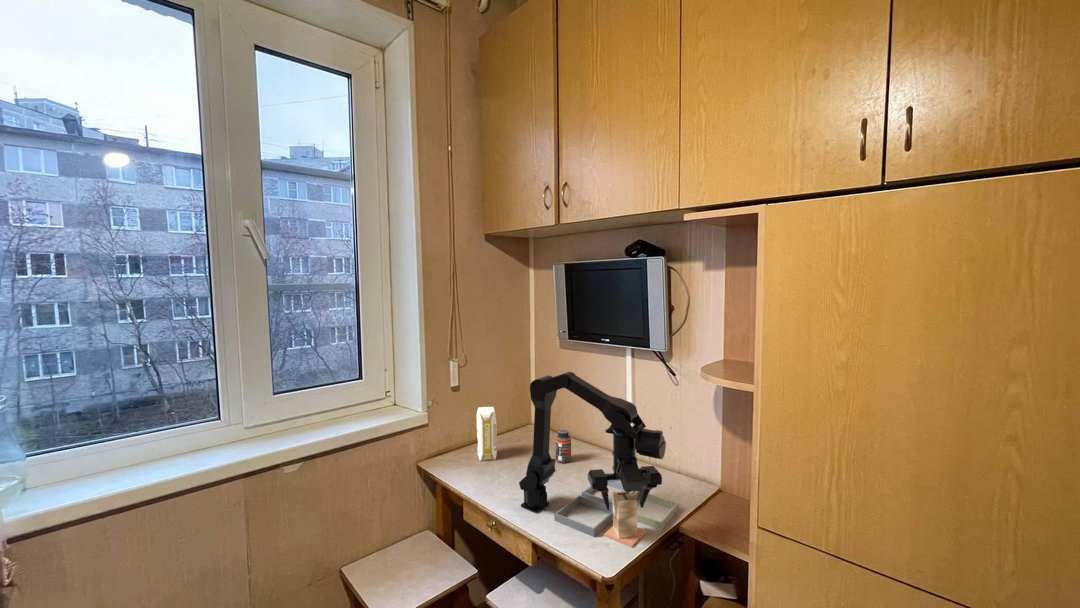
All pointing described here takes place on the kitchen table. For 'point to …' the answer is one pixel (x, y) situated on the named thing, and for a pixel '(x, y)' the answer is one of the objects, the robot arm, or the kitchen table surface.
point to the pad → (626, 541)
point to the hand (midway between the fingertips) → (624, 508)
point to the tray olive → (660, 501)
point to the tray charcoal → (579, 526)
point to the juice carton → (486, 433)
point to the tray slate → (587, 494)
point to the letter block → (624, 514)
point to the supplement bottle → (563, 447)
